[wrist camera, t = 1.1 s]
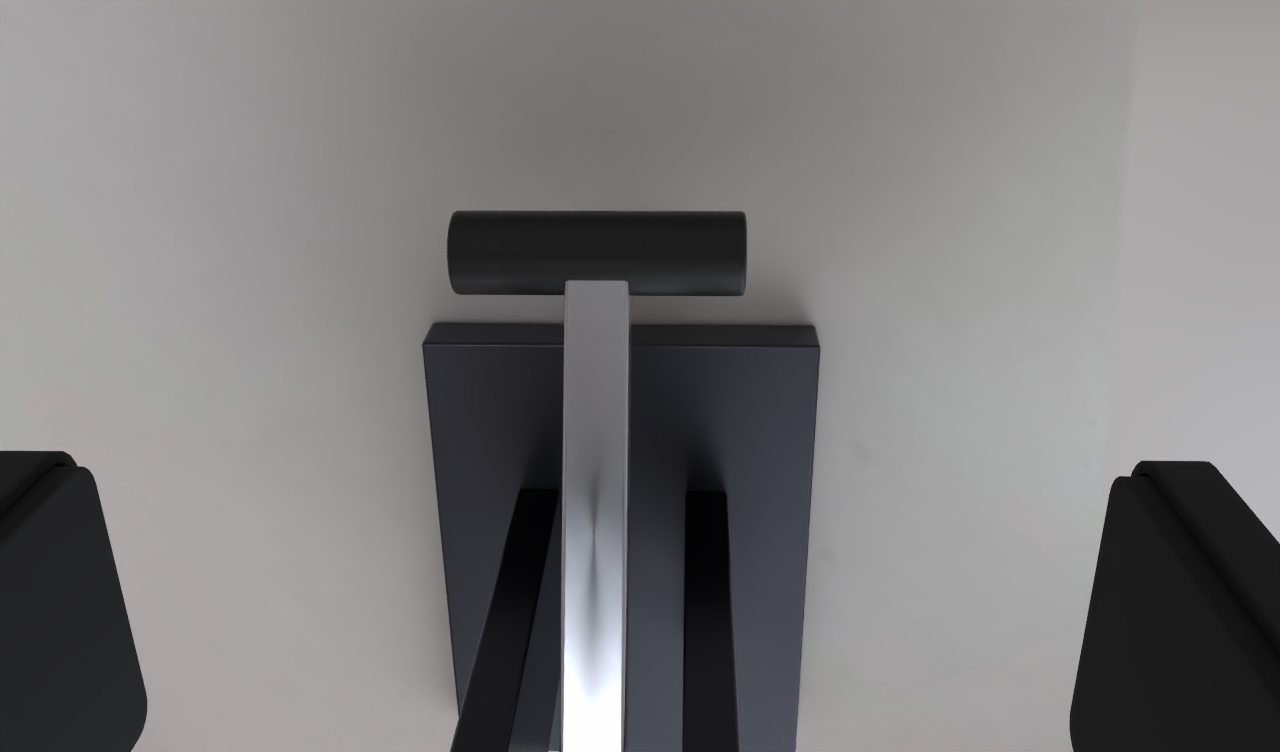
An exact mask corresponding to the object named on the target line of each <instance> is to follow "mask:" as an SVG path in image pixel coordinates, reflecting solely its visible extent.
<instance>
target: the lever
mask: <svg viewBox="0 0 1280 752" xmlns="http://www.w3.org/2000/svg"><path fill="white" fill-rule="evenodd" d="M447 263H448V273H449V279H450V283H451V286H452V289H453V291H454V292H455V293H457V294H463V295H564V364H563V461H562V559H561V656H560V752H628V656H629V550H630V445H631V339H632V296H742V295H743V294H744V292H745V287H746V270H747V222H746V215H745V213H744V212H741V211H456V212H454V213H453V215H452V217H451V220H450V223H449V229H448V238H447Z"/></svg>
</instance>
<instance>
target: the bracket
mask: <svg viewBox="0 0 1280 752" xmlns="http://www.w3.org/2000/svg"><path fill="white" fill-rule="evenodd" d="M422 348H423V358H424V368H425V378H426V389H427V399H428V409H429V419H430V430H431V440H432V450H433V460H434V470H435V481H436V491H437V501H438V511H439V522H440V532H441V542H442V552H443V562H444V573H445V583H446V593H447V603H448V614H449V624H450V634H451V644H452V654H453V665H454V675H455V685H456V695H457V706H458V716H459V719H458V723H457V727H456V731H455V735H454V738H453V742H452V746H451V750H450V752H548V751H560V656H561V559H562V461H563V364H564V325H539V324H433V325H432V326H431V328H430V330H429V332H428V334H427V336H426V338H425V340H424V341H423V344H422ZM819 361H820V344H819V340H818V336H817V332H816V329H815V327H813V326H683V325H632V339H631V445H630V550H629V656H628V752H795V750H796V734H797V717H798V701H799V685H800V669H801V653H802V636H803V620H804V604H805V588H806V571H807V555H808V539H809V523H810V507H811V490H812V474H813V458H814V442H815V425H816V409H817V393H818V377H819Z"/></svg>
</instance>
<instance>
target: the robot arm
mask: <svg viewBox="0 0 1280 752" xmlns="http://www.w3.org/2000/svg"><path fill="white" fill-rule="evenodd" d="M146 715H147V696H146V691H145V686H144V682H143V678H142V674H141V670H140V666H139V661H138V657H137V653H136V649H135V645H134V640H133V636H132V632H131V628H130V624H129V620H128V615H127V611H126V607H125V603H124V599H123V594H122V590H121V586H120V582H119V578H118V574H117V569H116V565H115V561H114V557H113V553H112V549H111V544H110V540H109V536H108V532H107V528H106V523H105V519H104V515H103V511H102V507H101V503H100V498H99V494H98V490H97V486H96V482H95V480H94V477H93V475H92V473H91V472H90V471H89V470H88V469H87V468H85V467H77V464H76V462H75V461H74V460H73V458H72V457H71V455H69V454H67V453H65V452H64V451H0V752H131V750H132V749H133V747H134V746H135V744H136V742H137V741H138V739H139V737H140V735H141V733H142V731H143V728H144V725H145V721H146ZM1070 736H1071V742H1072V747H1073V751H1074V752H1280V544H1279V542H1278V541H1277V540H1276V539H1275V538H1274V536H1273V535H1272V534H1271V533H1270V532H1269V530H1268V529H1267V528H1266V527H1265V526H1264V524H1263V523H1262V522H1261V521H1260V520H1259V518H1258V517H1257V516H1256V515H1255V514H1254V512H1253V511H1252V510H1251V509H1250V508H1249V507H1248V506H1247V504H1246V503H1245V502H1244V501H1243V499H1242V498H1241V497H1240V496H1239V495H1238V494H1237V492H1236V491H1235V490H1234V489H1233V487H1232V486H1231V485H1230V484H1229V483H1228V481H1227V480H1226V479H1225V478H1224V477H1223V475H1222V474H1221V473H1220V472H1219V471H1218V470H1217V468H1216V467H1215V466H1213V465H1212V464H1211V463H1210V462H1205V461H1141V462H1139V463H1138V464H1137V465H1136V466H1135V468H1134V470H1133V472H1132V474H1131V477H1124V476H1119V477H1118V478H1116V479H1115V480H1114V482H1113V484H1112V487H1111V490H1110V494H1109V500H1108V505H1107V511H1106V516H1105V522H1104V527H1103V533H1102V539H1101V544H1100V550H1099V555H1098V561H1097V566H1096V572H1095V577H1094V583H1093V589H1092V594H1091V600H1090V605H1089V611H1088V616H1087V622H1086V627H1085V633H1084V638H1083V644H1082V650H1081V655H1080V661H1079V666H1078V672H1077V677H1076V683H1075V688H1074V694H1073V700H1072V705H1071V711H1070Z"/></svg>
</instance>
